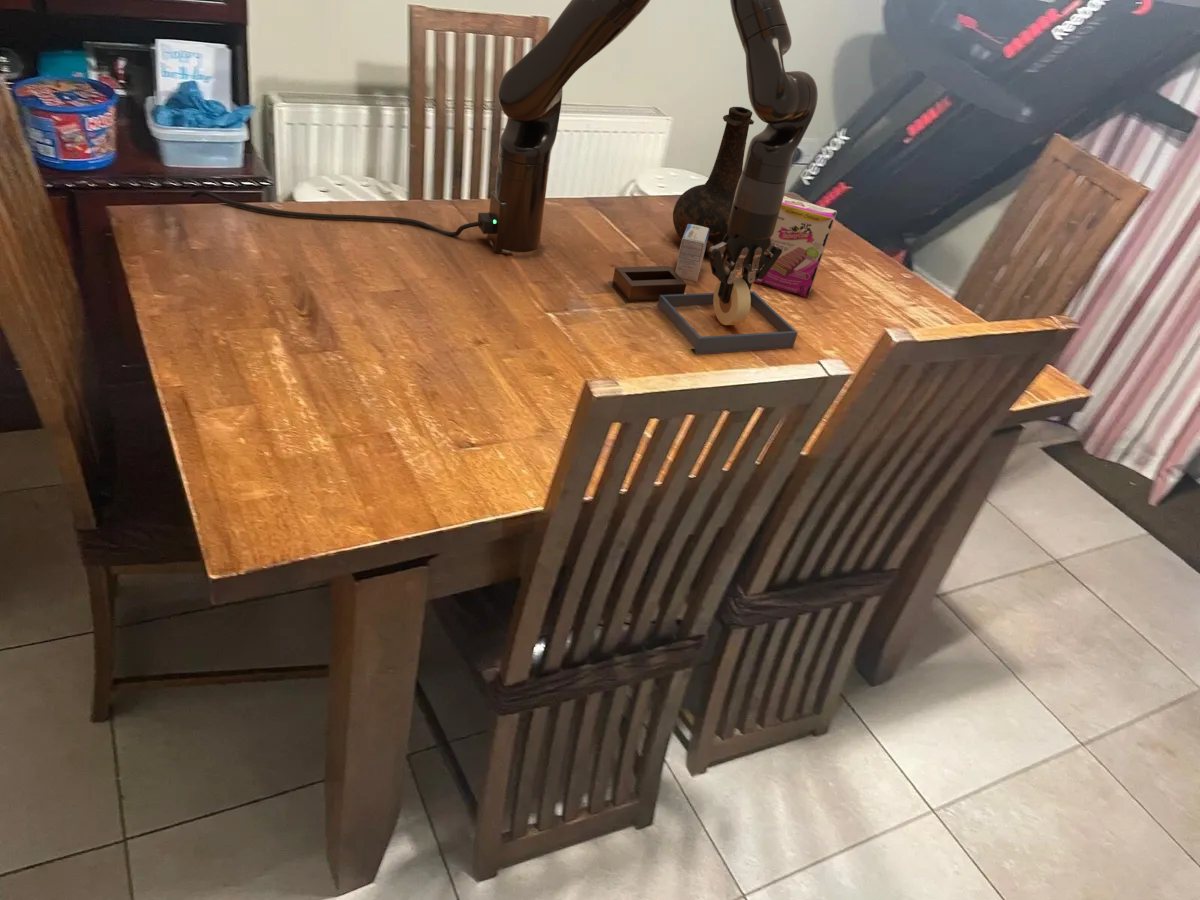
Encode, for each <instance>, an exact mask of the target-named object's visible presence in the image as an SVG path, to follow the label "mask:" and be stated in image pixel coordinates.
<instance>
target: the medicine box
mask: <svg viewBox="0 0 1200 900" xmlns="http://www.w3.org/2000/svg"><path fill="white" fill-rule="evenodd" d="M709 230H710V229H709V228H706V227H703V226H698V225H693V224H688V225H687V228H686V231H685V233H684V236H683V238H682V241H681V240H680V241H681V242H680V246H679V250H678V255H677V259H676V266H675V270H674V272H675V273H676V274H677V275H678V276H679V277H680V278H681V279H683V280H688V281H693V282H698V279H699V276H700V272H701V270H702V265H703V261H704V256H705V255H704V252H705V248H706V244H707V239H708V235H709Z"/></svg>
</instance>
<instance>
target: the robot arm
mask: <svg viewBox="0 0 1200 900" xmlns="http://www.w3.org/2000/svg"><path fill="white" fill-rule="evenodd" d="M650 2H651V0H570V1H569V3H567V5H566V7H565V8H564V9H563V10H562V11H561V13H560V15H559V16H558V18H556V20H555V22H554V23H553V25H551V28H549V30H548V31H547V33H546V34H545V35H544V36H543V37H542V39H540V40H539V42H538V43H537V44H536V45H534V46H533V48H531V49H530V50H529V51H528V52H527V53H526V54H525V55H524V56H523V57H522V58H520V59H519V60H518V61H517V62H516V63H515V64H514V65H513V66H512V67H511V68H509V69H508V70H507V71H506V72H505V73H504V75H502V77H501V80H500V83H499V86H498V90H497V91H498V93H497V97H498V103H499V106H500V108H501V111H502V112H503V114H504V115H505V116H506V117H507V121H506V124H505V127H504V129H503V132H502V134H501V135H500V138H499V143H498V155H497V165H496V175H495V185H494V187H495V188H494V190H492V191H491V192H490V201H489V212H477V213H478V215H477V221H475V222H474V221H473V222H469V223H465V224H462V225H460V226H459V227H458V228H457V229H456V231H446V230H442V229H440V228H438V227H435V226H434V225H431V224H429V223H427V222H424V221H420V220H417V219H414V218H413V219H412V218H407V217H406V218H405V217H397V216H385V215H384V216H382V215H380V216H379V215H366V214H365V215H364V214H362V215H361V214H337V213H336V214H335V213H316V212H315V213H314V212H301V211H291V210H283V209H275V208H268V207H262V206H257V205H253V204H249V203H244V202H241V201H235V200H232V199H228V198H225V197H223V196H220V195H218V194H216V193H214V192H213V191H210V190H206V189H196V190H194V191H192V192H191V193H190V194H189V195H188V196H189V197H190V198H195V197H196V196H199V195H205V196H208V197H210V198H212V199H214V200H216V201H219V202H220V203H223V204H226V205H229V206H235V207H238V208H243V209H247V210H251V211H256V212H260V213H266V214H272V215H277V216H286V217H296V218H297V217H298V218H310V219H325V220H326V219H327V220H353V221H354V220H356V221H374V222H375V221H376V222H392V223H393V222H394V223H403V224H404V223H405V224H410V225H416V226H420V227H422V228H425V229H428V230H429V231H433V232H434V233H435V232H436V233H438V234H440V235H444V236H446V237H453V238H454V237H458V236H459V235H461V233H462V232H463V231H465V230H466V229H470V228H476V227H478V228H479V229H480V231H481V232H482V234H483V235H486V240H487V242H488V244H489V245H490V247H491V248H492V250H493V251H494V252H495V253H496V254H505V255H509V256H513V253H530V252H533V251H536V250H537V249H538V248H539V247H540V244H541V236H542V227H543V219H544V212H545V203H546V197H547V196H546V194H547V187H548V180H549V179H548V178H549V171H550V164H551V163H550V162H551V156H552V151H553V147H554V145H555V142H556V139H557V134H558V130H559V129H558V128H559V122H560V116H561V110H562V102H563V92H564V91H563V88H564V86H565V85H566V84H567V83H568V81H569V80H570V79H571V78H572V77H573V76H574V74H575V73H577V71H579V69H581V68H582V67H583V66H584V65H585V64H587V63H588V62H589V61H591V59H593V58H594V57H595V56H597V55H599V53H600V52H602V51H603V50H604V49H605V48H607V47H608V46H609V45H610V44H611V43H612V42H614V40H616V39H617V38H618V37H619V36H620V35H621V34H622V33H624V31H625V30H626V29H627V28H628V27H629V26H630V25H631V24H632V22H634V21H635V19H637V17H638V16H639V15H640V14H641V13H642V12H643V11H644V10H645V9H646V7H647V6H648V5H649V3H650ZM729 2H730V9H731V14H732V18H733V21H734V25H735V28H736V31H737V34H738V37H739V40H740V43H741V46H742V49H743V52H744V54H745V70H746V72H745V73H746V81H747V82H746V83H747V94H748V99H749V103H750V106H751V108H752V110H753V112H754V113H755V115H756V116H757V117H758V119H760V120H761V121H762V122H764V123H765V124H766V126H765V128H764V129H763V130H762V131H761V132H759V133H758V134H756V135H755V136H753V137H752V139H751V140H750V142H749V143H748V147H747V151H746V156H745V159H744V162H743V169H742V174H741V177H740V179H739V182H738V185H737V188H736V192H735V197H734V200H733V205H732V209H731V213H730V217H729V221H728V232H727V234H726V236H725V237H724V238H723V242H722V243H719V244H717V245H715V246H714V245H712V244H710V245H708V247H707V251H708V256H707V257H708V260H709V265H710V269H711V274H712V275H713V276H714V277H715V278H717V280H718V281H719V280H720V281H721V283H720V287H719V291H718V297H719V298H720V300H721V301H722V302H723V303H729V300H730V296H731V292H732V289H733V285H734V284H733V281H734V279H735V277H737V275H738V273H739V272H740V271H741V278H742V279H744V281H745V282H746V283H747V285H748V288H749V291H751V288H752V284H753V283H755V282H754V281H755V280H756V279H760V280H761V279H763V278H764V277H765V276H766V274H767V273H768V271H769V270H770V269H771V267H772V266H773V264H774V263H775V262H776V260H777V259H778V258H779V256H780V255H781V253H782V250H781V249H780V248H779V247H778V246H777V245H775V244H774V243H771V238H770V237H771V236H772V235H773V233H774V230H775V226H776V222H777V219H778V215H779V212H780V208H781V204H782V201H783V197H784V196H785V191H786V186H787V185H786V183H787V179H788V176H789V172H790V169H791V166H792V162H793V158H794V154H795V152H796V150H797V149H798V147H799V146H800V144H801V142H802V140H803V138H804V136H805V134H806V132H807V130H808V128H809V126H810V125H811V122H812V120H813V117H814V115H815V112H816V108H817V105H818V99H819V98H818V97H819V93H818V87H817V83H816V81H815V79H814V77H813V76H811V75H810V73H808V72H805V71H801V70H792V71H786V69H785V65H784V55H786V54H787V53H788V52H789V50H790V49H791V47H792V35H791V32H790V29H789V25H788V22H787V18H786V16H785V13H784V9H783V6H782V4H781V3H782V2H781V0H729ZM724 251H726V253H727V254H726V257H725V258H723V257H724V256H723V255H724ZM761 255H762V256H761ZM763 265H764V266H763ZM762 266H763V268H762ZM761 268H762V269H761ZM760 269H761V270H760Z"/></svg>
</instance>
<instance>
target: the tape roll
mask: <svg viewBox="0 0 1200 900" xmlns="http://www.w3.org/2000/svg"><path fill="white" fill-rule="evenodd" d="M720 283H721V281H720V280H718V281H717V283H716V285H715V287H714V291H713V293H714V297H713V310H714V315H715V317H716V319H717V320H718V322H719V323H720V324H721V325H724V326H735V325H741V324H744V323H745V322H746V320H748V317H749V314H750V312H751V306H752V305H751V296H750V291H751V290H750V291H749V288H748V285H747V283H746V282H745V281H744V279H742V277H740V276H735V279H734V281H733V284H734V285H733V289H732V292H731V296H730V300H729V303H723V302H722V301H721V300H720V298H719V297H718V291H719V287H720Z"/></svg>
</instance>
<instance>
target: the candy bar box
mask: <svg viewBox="0 0 1200 900" xmlns="http://www.w3.org/2000/svg"><path fill="white" fill-rule="evenodd" d="M837 214H838V211H837V210H835V209H832V208H829V207H825V206H822V205H818V204H814V203H811V202H808V201H807V202H806V201H803V200H800V199H797V198H793V197H790V196H786V195H784V197H783V201H782V204H781V208H780V212H779V215H778V219H777V222H776V226H775V230H774V233H773V235H772V236H771V237H770V238H771V243H774V244H775V245H777V246H778V247H779V248H780V249H781V250H782V253H781V255H780V256H779V258H778V259H777V260H776V262H775V263H774V264H773V266H772V267H771V269H770V270H769V271H768V273H767V274H766V276H765V277H764V278H763V279H761V280H760V279H756V280H755V281H754V282H753V283H755V284H756V283H757V284H759V285H763V286H767V287H770V288H773V289H777V290H780V291H783V292H786V293H789V294H794V295H797V296H799V297H803V298H809V295H810V293H811V291H812V289H813V287H814V283H815V280H816V277H817V273H818V271H819V267H820V265H821V261H822V258H823V256H824V252H825V249H826V246H827V243H828V240H829V237H830V234H831V231H832V228H833V226H834V222H835V219H836V216H837ZM761 256H762V255H761ZM763 266H764V265H763ZM763 266H762V268H763ZM762 268H761V269H762ZM761 269H760V270H761Z"/></svg>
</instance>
